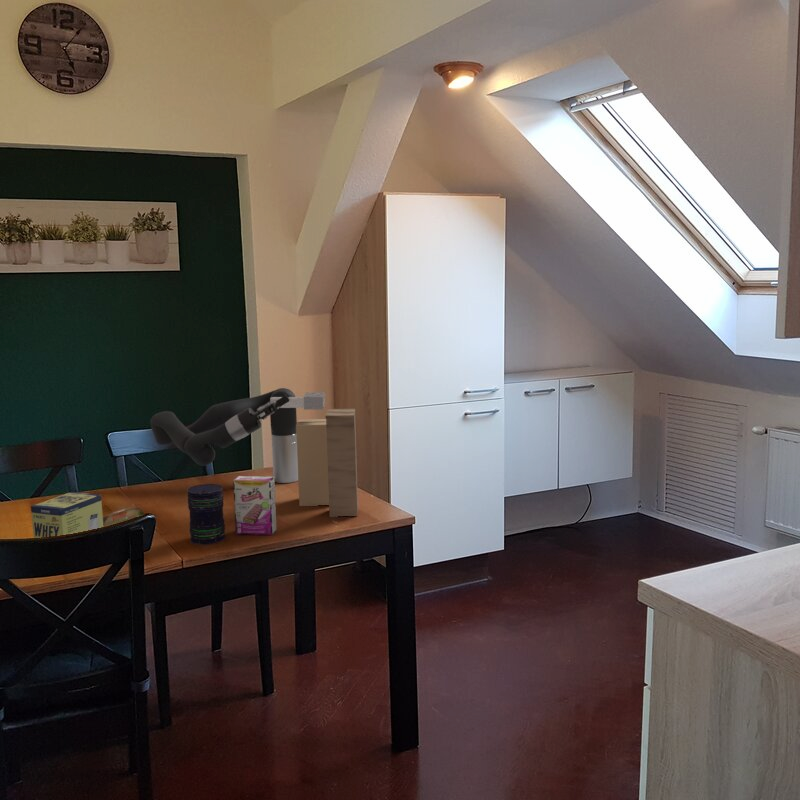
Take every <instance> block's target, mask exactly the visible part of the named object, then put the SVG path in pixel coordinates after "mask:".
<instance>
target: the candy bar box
mask: <svg viewBox="0 0 800 800" xmlns="http://www.w3.org/2000/svg"><path fill="white" fill-rule="evenodd" d="M275 483H276V482H275V478H274V477H273V476H252V475H251V476H250V475H249V476H248V475H247V476H246V475H238V476H237V477H235V478H234V479H233V500H234V501H233V504H234V520H235V521H234V524H235V525H234V526H235V535H253V534H254V535H257V536H258V535H259V536H260V535H263V536H264V535H265V536H272V535H274V534H275V532H276V531H277V512H276V510H277V509H276V485H275Z"/></svg>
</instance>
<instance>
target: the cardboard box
mask: <svg viewBox="0 0 800 800" xmlns="http://www.w3.org/2000/svg"><path fill="white" fill-rule="evenodd" d="M296 435H297V459H298V481H297V483H298V501H299V502H298V503H299V505H298V506H299V507H319V506H318V505H329V486H328V458H327V430H326V418H319V419H318V418H317V419H314V418H313V419H309V418H308V419H298V420H297V425H296Z"/></svg>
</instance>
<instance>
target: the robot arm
mask: <svg viewBox="0 0 800 800" xmlns="http://www.w3.org/2000/svg"><path fill="white" fill-rule="evenodd" d="M271 397H282V398H280V399H279V400H277V401H274V402H273V403H271V404H270V398H271ZM288 397H296V395H295V393H294V392H293V391H292V390H291V389H289V388H285V387H282V388H277V389H275V390H272V391H269V392H266V393H264V394H261V395H258V396H257V395H256V396H253V397H245V398H240V399H236V400H235V399H234V400H230V401H225V402H221V403H217V404H214V405H212V406H209V408H207V409H206V411H205V412H203V413H202V415H200V417H199V418H198V419H197V420H196V421H194V422H193V423H192V424H190V425H188V426H185V425H184V423H182V422H181V421H180V420H179V418H178V417H177V416H176V414H175V413H174V412H172V411H169V410H165V411H163V410H162V411H160V412H157V413H155V414H154V415H152V417H151V418H150V420H149V421H150V422H149V423H150V427H151V430H152V432H153V436H154V438H155V441H156V444H157V445H160V446H166V445H171V444H172V445H173V444H174V445H175V447H176V448H177V449H179V450H180V451H182V452H183V453H185V454H186V455H187V456H189V458H191V459H192V461H193V462H195V464H197V465H198V466H208V465H210V464H211V463H213V461H214V460H215V458H216V452H215V449H214V448H213V447H212V444H214V445H215V446H217V447H219V448H220V449H225V448H228V447H229V446H231V445H232V444H234V443H236V442H237V441H240V440H241V439H244V438H246V437H247V436H249V435H251V434H252V433H254V432H256V431H257V430H259V429H260V428H262V423H261V421H260V420H266V419H267V418H268V417H269V419H270V431H271V449H272V450H271V451H272V452H271V453H272V454H271V456H272V475H273V476H272V477H274V478H275V483H277V484H287V483H289V484H291V483H295V482H298V459H297V435H296V425H297V423H298V419H297V418H298V417H297V408H280V407H281V406H282V405H284V404H286V403H287V402H289V398H288ZM279 406H280V407H279Z"/></svg>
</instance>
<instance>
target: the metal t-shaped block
mask: <svg viewBox="0 0 800 800" xmlns="http://www.w3.org/2000/svg"><path fill="white" fill-rule="evenodd" d="M280 398H282V397H271V398H270V404H271V403H273V402H274V401H277V400H279V399H280ZM288 398H289V402H287V403H286V404H284V405H282V406H281V407H280V406H279V407H280V408H296V409H298V408H299V409H303V410H305V411H306V410H311V411H312V410H313V411H314V410H316V411H317V410H324V409H325V406H326V392H325V391H322V392H320V391H319V392H318V391H313V392H311V391H310V392H309V391H306V393H305V394H304V396H295V397H288Z"/></svg>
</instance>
